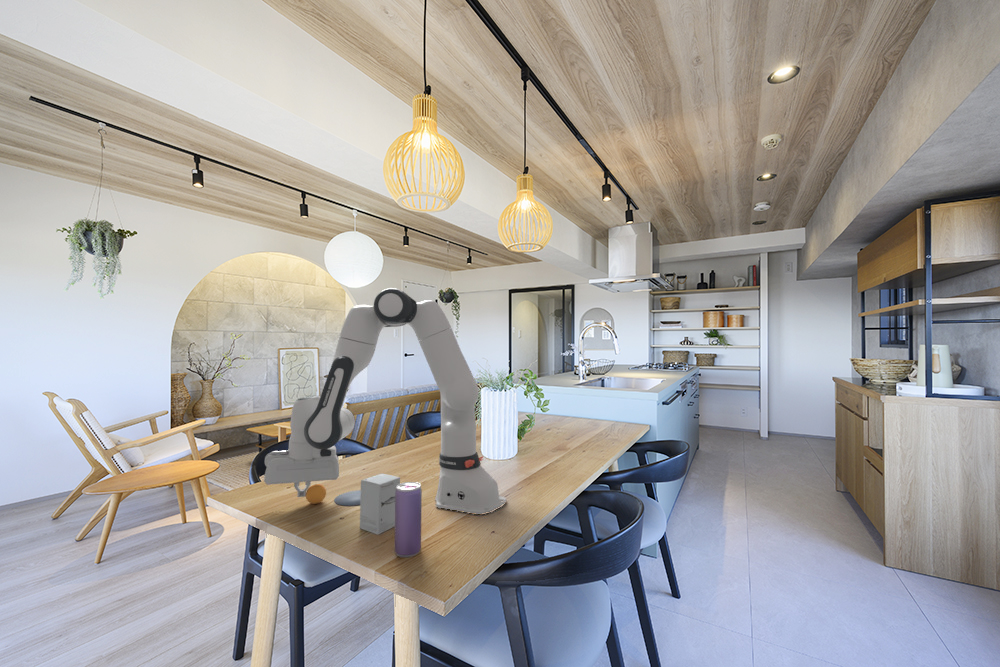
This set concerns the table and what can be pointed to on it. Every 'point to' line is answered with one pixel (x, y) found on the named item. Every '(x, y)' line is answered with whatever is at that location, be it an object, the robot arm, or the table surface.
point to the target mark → (349, 498)
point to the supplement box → (378, 503)
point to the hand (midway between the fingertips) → (301, 496)
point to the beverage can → (408, 519)
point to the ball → (315, 494)
